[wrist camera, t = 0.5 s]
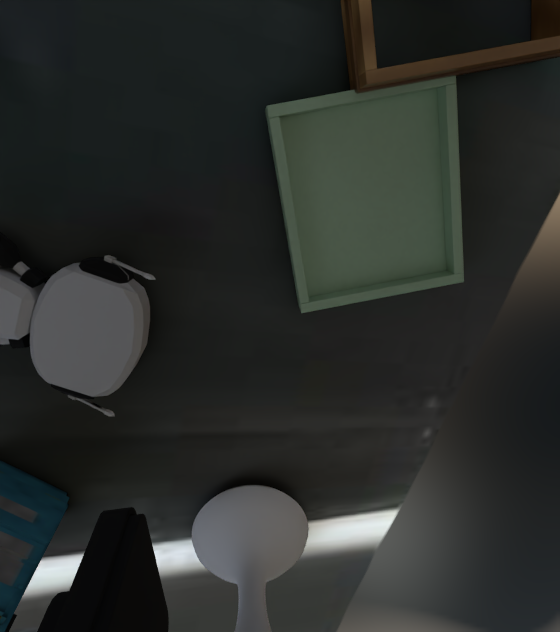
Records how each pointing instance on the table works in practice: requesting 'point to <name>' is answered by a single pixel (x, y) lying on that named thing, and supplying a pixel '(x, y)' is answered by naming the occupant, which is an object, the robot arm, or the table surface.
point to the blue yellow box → (24, 533)
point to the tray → (370, 191)
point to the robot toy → (75, 321)
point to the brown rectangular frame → (546, 42)
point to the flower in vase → (250, 544)
